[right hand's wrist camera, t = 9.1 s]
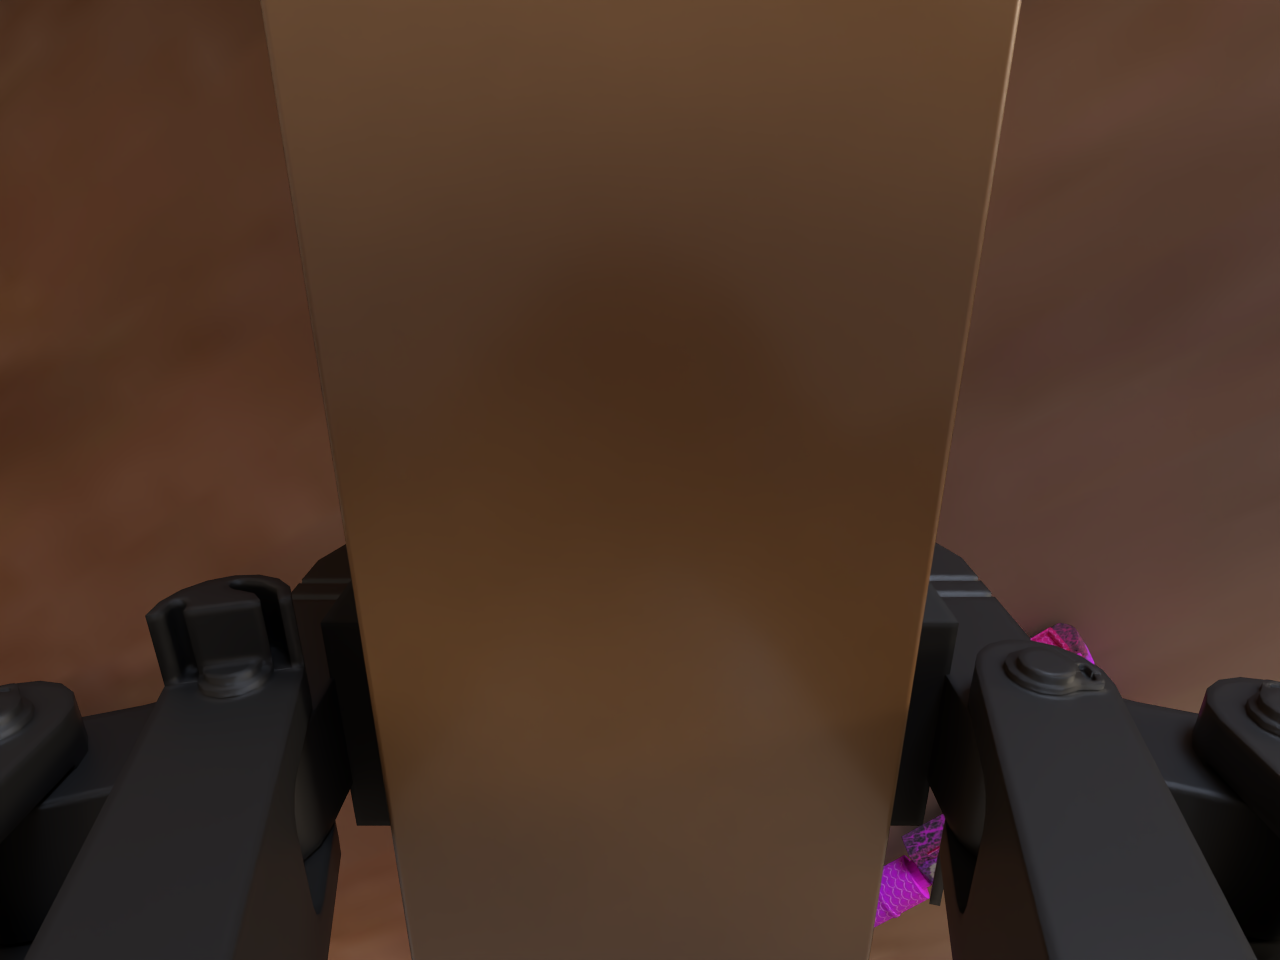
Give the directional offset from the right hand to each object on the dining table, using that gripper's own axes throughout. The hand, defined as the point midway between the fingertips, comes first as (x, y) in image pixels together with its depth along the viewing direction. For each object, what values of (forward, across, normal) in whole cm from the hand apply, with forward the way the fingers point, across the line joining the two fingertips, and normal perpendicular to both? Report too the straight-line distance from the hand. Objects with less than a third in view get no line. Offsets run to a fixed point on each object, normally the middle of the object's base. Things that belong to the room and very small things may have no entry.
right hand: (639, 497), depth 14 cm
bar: (+1, 0, -8) cm, 8 cm away
